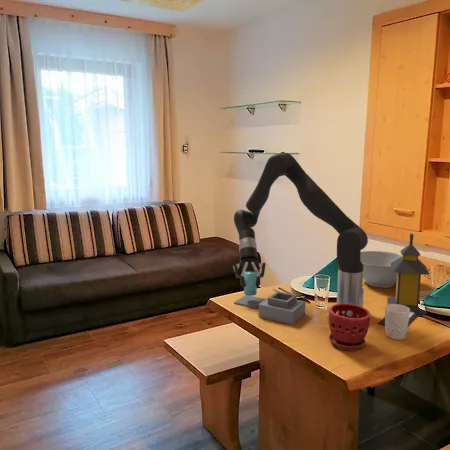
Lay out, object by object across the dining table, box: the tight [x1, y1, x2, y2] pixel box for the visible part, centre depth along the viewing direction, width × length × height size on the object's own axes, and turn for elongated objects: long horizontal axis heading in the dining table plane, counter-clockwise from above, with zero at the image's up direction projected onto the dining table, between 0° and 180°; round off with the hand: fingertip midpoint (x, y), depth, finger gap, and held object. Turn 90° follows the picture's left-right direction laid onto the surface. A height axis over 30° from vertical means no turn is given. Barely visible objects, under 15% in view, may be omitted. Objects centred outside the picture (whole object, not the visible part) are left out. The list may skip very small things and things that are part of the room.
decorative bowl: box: [360, 250, 402, 289], centre depth 209 cm, size 27×27×12 cm
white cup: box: [384, 303, 410, 340], centre depth 155 cm, size 8×8×10 cm
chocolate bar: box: [377, 312, 419, 327], centre depth 169 cm, size 9×1×18 cm
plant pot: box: [328, 303, 371, 351], centre depth 148 cm, size 13×13×12 cm
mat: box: [233, 294, 267, 309], centre depth 188 cm, size 10×10×1 cm
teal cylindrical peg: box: [243, 271, 258, 296], centre depth 186 cm, size 5×5×9 cm
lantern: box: [386, 233, 430, 316], centre depth 179 cm, size 14×14×30 cm
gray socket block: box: [258, 291, 306, 325], centre depth 173 cm, size 14×12×8 cm
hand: (250, 286), depth 184 cm, fingers closed on teal cylindrical peg, 5 cm apart
